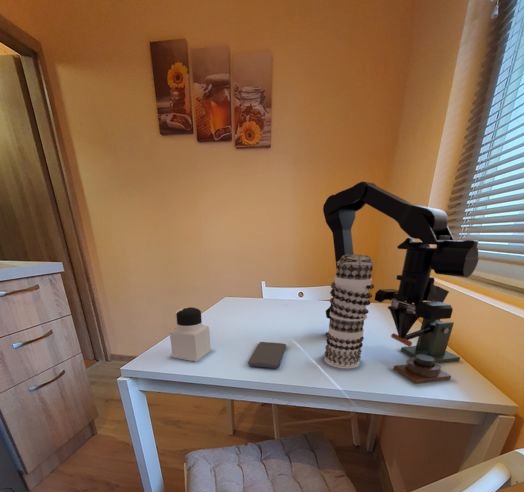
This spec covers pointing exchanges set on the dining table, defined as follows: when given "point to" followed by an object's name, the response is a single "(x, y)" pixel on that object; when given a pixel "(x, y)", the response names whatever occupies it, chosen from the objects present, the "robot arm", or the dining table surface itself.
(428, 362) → the button
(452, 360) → the bracket
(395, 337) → the lever
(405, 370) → the button block
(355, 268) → the decorative candle
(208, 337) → the medicine bottle
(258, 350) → the smartphone
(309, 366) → the dining table surface
